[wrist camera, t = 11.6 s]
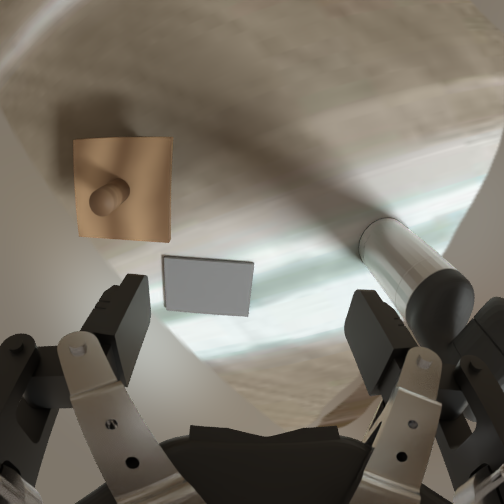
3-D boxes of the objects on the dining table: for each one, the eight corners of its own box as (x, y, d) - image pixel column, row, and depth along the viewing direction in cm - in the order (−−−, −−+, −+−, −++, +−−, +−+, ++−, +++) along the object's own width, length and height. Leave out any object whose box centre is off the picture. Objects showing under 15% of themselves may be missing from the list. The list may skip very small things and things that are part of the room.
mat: (253, 262, 48) (254, 264, 47) (248, 314, 52) (248, 316, 52) (164, 256, 47) (163, 257, 46) (167, 308, 51) (166, 310, 51)
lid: (173, 137, 31) (159, 141, 25) (170, 239, 36) (159, 262, 30) (77, 138, 30) (50, 145, 24) (82, 233, 35) (60, 253, 29)
